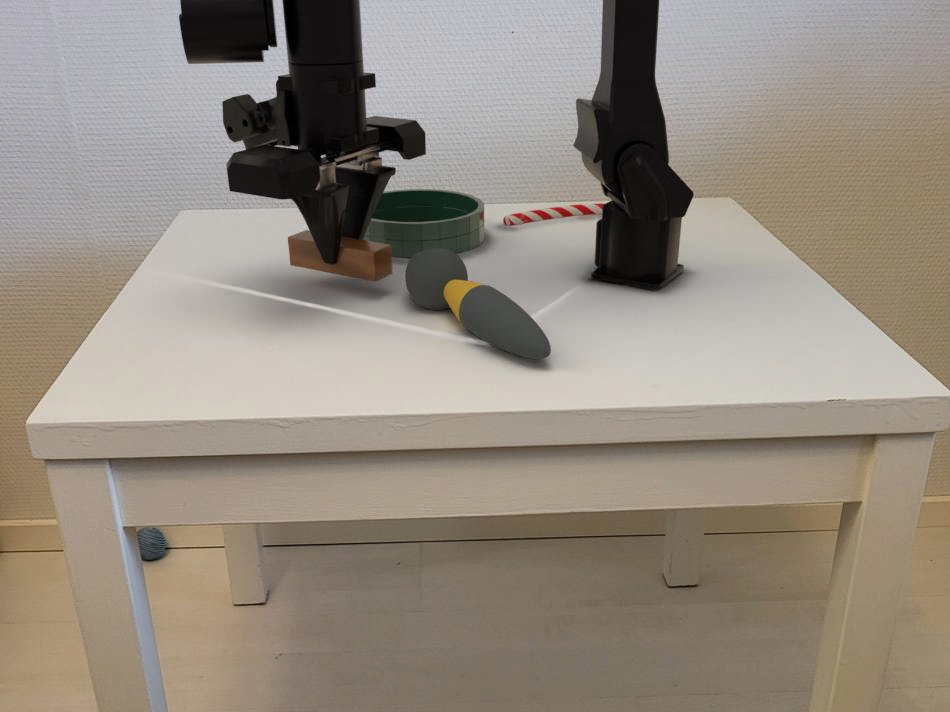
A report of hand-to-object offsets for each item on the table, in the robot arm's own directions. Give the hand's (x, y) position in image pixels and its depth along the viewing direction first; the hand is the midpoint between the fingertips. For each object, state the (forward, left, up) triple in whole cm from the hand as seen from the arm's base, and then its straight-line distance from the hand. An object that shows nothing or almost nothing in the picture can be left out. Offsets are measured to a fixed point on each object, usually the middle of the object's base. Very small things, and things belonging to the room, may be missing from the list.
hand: (340, 259), depth 83 cm
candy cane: (-8, -29, -3) cm, 30 cm away
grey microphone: (-14, +1, -3) cm, 14 cm away
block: (0, 0, -1) cm, 1 cm away
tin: (+3, -16, -3) cm, 17 cm away
